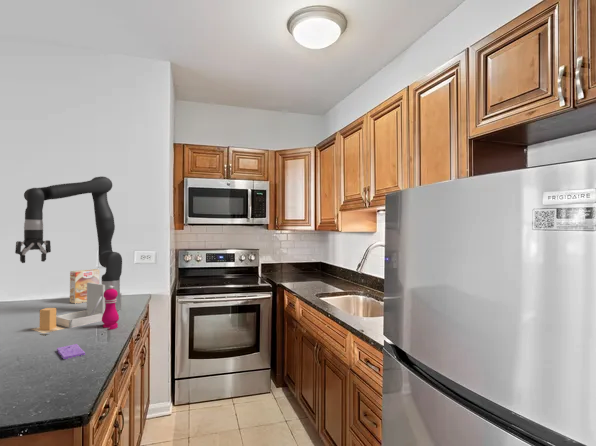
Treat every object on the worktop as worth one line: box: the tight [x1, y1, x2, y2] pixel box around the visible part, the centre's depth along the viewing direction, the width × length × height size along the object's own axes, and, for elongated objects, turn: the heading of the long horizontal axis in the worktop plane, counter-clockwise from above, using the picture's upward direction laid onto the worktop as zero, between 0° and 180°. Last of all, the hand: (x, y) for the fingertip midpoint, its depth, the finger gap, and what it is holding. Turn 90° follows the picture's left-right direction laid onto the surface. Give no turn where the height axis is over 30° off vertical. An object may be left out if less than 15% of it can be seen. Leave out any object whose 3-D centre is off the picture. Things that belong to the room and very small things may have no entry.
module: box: [39, 307, 57, 330], centre depth 167 cm, size 4×4×9 cm
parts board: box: [30, 325, 66, 337], centre depth 167 cm, size 9×12×1 cm
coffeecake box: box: [69, 268, 100, 305], centre depth 231 cm, size 15×7×20 cm, turn 147°
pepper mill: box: [101, 286, 120, 331], centre depth 173 cm, size 7×7×20 cm
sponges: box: [56, 343, 86, 360], centre depth 139 cm, size 7×13×2 cm, turn 43°
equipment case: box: [56, 283, 105, 329], centre depth 179 cm, size 17×14×18 cm
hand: (33, 262), depth 179 cm, fingers open, 8 cm apart
